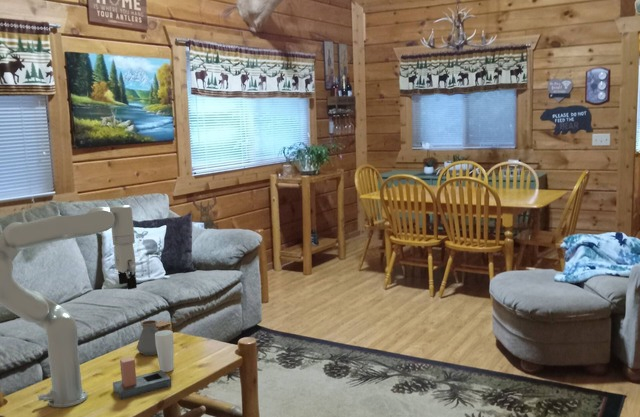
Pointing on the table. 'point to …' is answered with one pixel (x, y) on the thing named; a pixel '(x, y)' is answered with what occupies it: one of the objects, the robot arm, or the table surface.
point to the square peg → (128, 371)
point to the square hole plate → (143, 385)
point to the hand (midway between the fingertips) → (127, 286)
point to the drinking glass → (165, 350)
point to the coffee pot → (149, 337)
